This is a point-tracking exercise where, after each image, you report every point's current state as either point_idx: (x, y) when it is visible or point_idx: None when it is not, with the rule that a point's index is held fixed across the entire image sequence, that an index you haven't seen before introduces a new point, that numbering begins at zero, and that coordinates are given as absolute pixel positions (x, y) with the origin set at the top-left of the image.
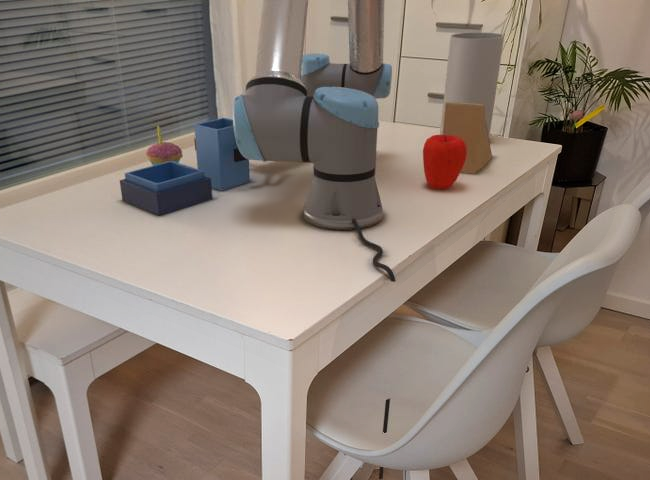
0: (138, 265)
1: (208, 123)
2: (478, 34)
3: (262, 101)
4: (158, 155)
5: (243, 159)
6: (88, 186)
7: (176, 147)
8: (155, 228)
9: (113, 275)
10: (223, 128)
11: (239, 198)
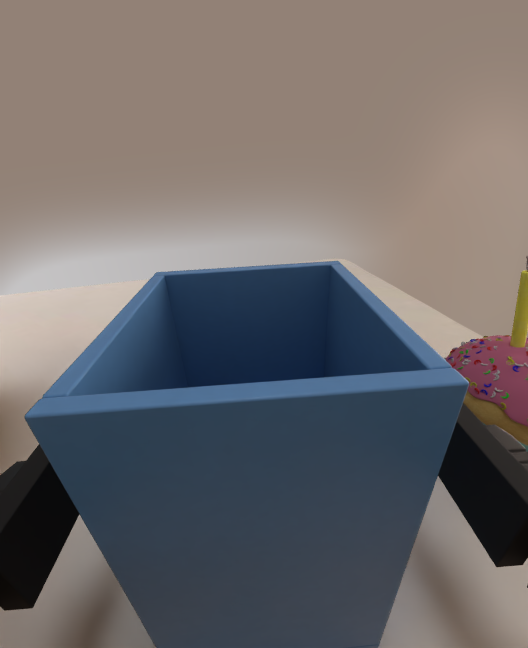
0: (110, 292)
1: (353, 300)
2: None
3: None
4: (455, 349)
5: None
6: (429, 317)
7: (520, 388)
8: None
9: (120, 282)
10: (147, 285)
11: None
